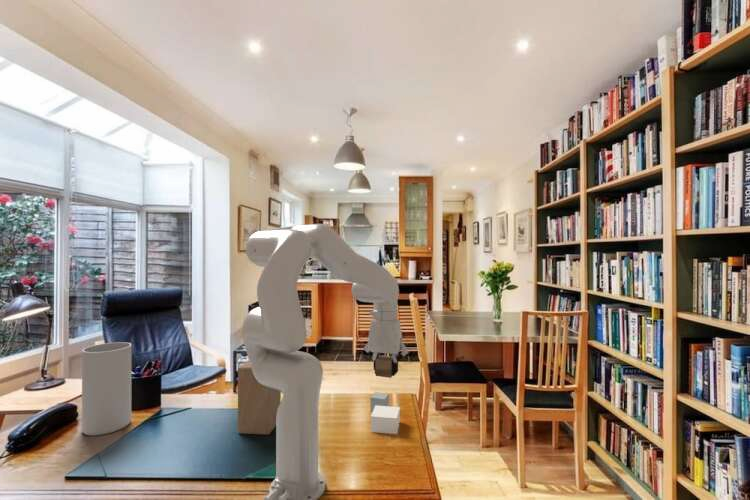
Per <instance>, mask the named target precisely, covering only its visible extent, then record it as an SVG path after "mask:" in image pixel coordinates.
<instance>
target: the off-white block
mask: <svg viewBox="0 0 750 500" xmlns="http://www.w3.org/2000/svg"><path fill="white" fill-rule="evenodd" d="M400 415H401V407H400V406H390V405H389V406H377V405H375V408H374V410H373V412H371V415H370V432H371V433H379V434H390V435H398V433H399V432H398V431H399V427H400V424H399V423H400V422H401V417H400Z"/></svg>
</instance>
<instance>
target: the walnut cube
mask: <svg viewBox="0 0 750 500" xmlns="http://www.w3.org/2000/svg"><path fill="white" fill-rule="evenodd" d="M392 363H393V358H392V355H391V356H390V355H389V356H388V355H379V357H378V358H377V359H376V374H375V377H381V378H389V379H391V378H392V377H393V376H392Z"/></svg>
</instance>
